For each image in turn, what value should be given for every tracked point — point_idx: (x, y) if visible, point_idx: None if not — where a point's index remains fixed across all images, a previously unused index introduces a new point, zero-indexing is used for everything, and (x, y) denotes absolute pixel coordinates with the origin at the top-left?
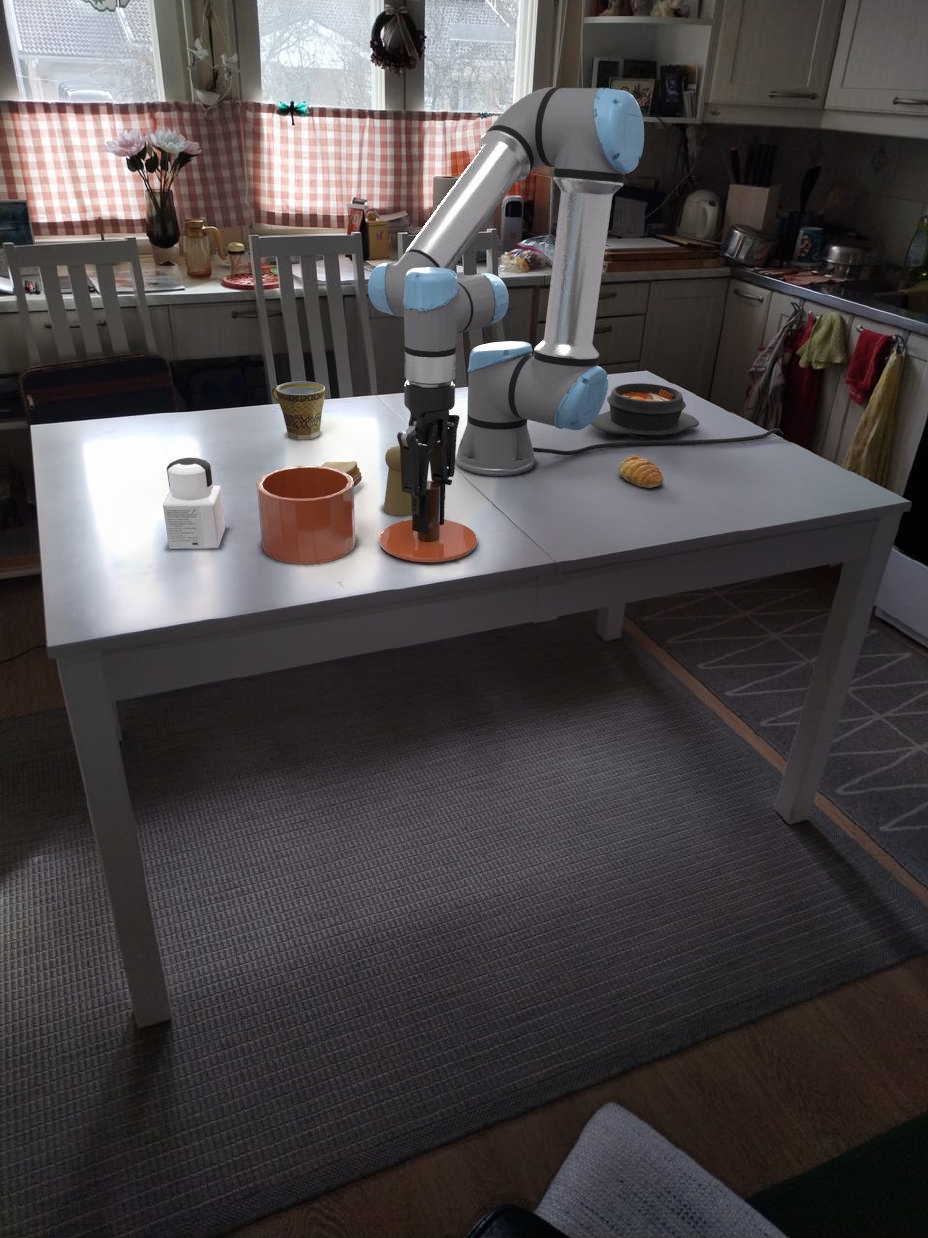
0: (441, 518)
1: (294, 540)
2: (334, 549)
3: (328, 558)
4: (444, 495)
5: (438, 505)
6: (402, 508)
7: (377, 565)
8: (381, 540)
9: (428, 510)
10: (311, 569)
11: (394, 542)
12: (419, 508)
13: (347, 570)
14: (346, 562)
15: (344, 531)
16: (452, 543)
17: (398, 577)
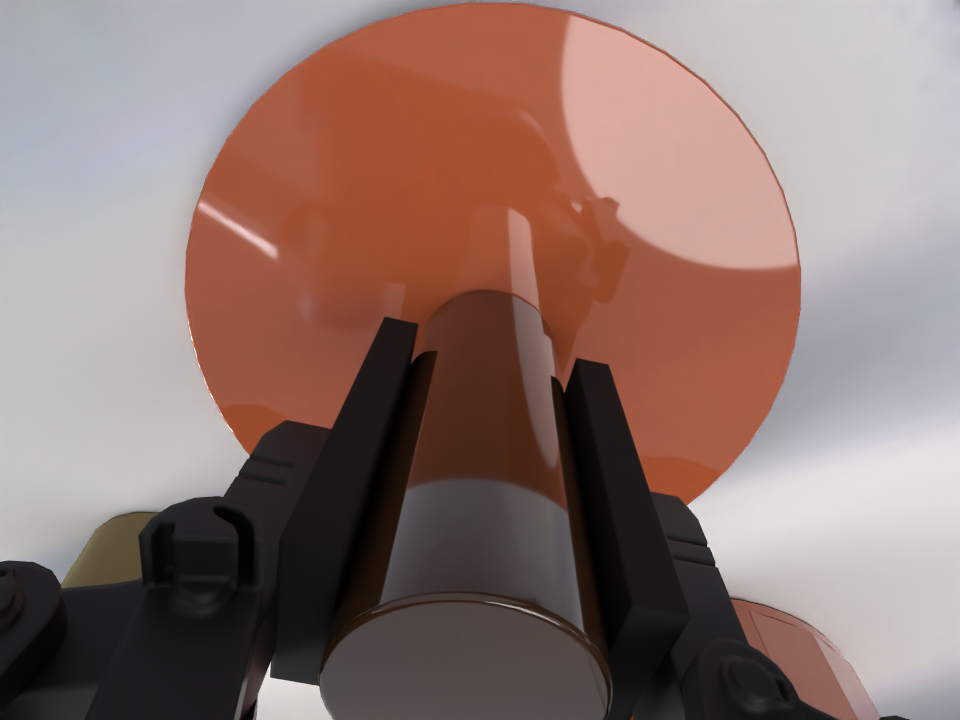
0: (409, 350)
1: None
2: (816, 661)
3: (822, 640)
4: (325, 457)
5: (493, 431)
6: None
7: (816, 464)
8: None
9: (611, 470)
10: (894, 649)
11: None
12: (699, 547)
13: (889, 548)
14: (805, 575)
15: None
16: (510, 182)
17: (955, 330)
